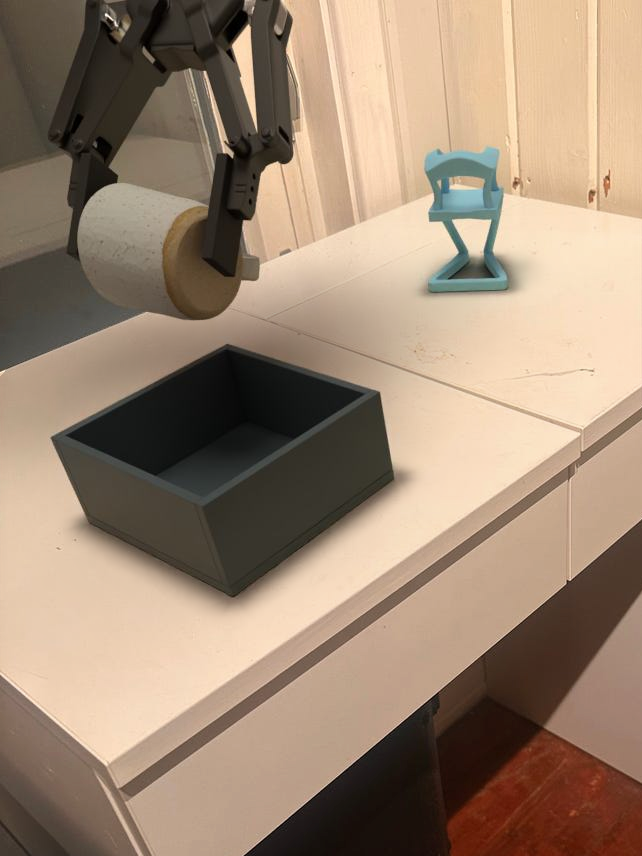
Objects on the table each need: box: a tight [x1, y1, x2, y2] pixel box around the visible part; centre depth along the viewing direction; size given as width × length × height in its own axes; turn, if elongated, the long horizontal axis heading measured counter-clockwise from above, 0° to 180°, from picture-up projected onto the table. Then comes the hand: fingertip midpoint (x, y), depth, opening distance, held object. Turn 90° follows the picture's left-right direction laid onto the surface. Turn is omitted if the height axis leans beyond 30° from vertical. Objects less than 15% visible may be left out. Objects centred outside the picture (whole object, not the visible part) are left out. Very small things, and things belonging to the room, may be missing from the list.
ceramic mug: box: [77, 182, 261, 321], centre depth 60 cm, size 11×8×8 cm
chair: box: [423, 145, 509, 293], centre depth 87 cm, size 8×8×12 cm
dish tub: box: [50, 343, 395, 597], centre depth 62 cm, size 15×15×7 cm
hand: (150, 265), depth 58 cm, fingers closed on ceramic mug, 9 cm apart
